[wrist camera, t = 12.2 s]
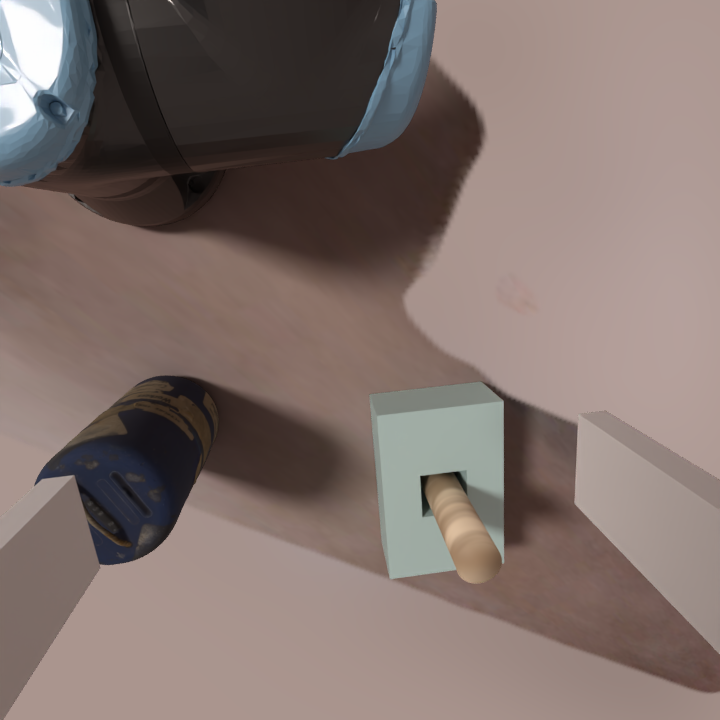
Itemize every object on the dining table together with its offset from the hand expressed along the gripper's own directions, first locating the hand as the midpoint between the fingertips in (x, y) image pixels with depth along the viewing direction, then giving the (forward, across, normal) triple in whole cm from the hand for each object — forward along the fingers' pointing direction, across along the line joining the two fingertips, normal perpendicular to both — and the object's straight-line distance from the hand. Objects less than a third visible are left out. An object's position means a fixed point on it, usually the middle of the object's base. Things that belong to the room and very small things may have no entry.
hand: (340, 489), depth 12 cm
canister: (+35, -16, -10) cm, 40 cm away
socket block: (+35, +10, -19) cm, 41 cm away
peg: (+35, +10, -19) cm, 41 cm away
